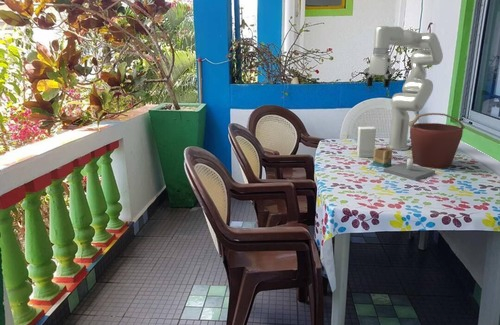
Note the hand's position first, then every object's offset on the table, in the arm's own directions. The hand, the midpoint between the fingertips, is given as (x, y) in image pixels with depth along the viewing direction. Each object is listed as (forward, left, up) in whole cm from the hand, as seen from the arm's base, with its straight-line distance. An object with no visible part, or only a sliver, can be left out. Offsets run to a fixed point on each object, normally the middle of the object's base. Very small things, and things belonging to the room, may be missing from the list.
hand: (377, 86), depth 197 cm
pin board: (+14, +30, -36) cm, 50 cm away
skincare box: (+5, -1, -37) cm, 37 cm away
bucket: (-9, +28, -37) cm, 47 cm away
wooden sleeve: (+13, +15, -36) cm, 42 cm away
